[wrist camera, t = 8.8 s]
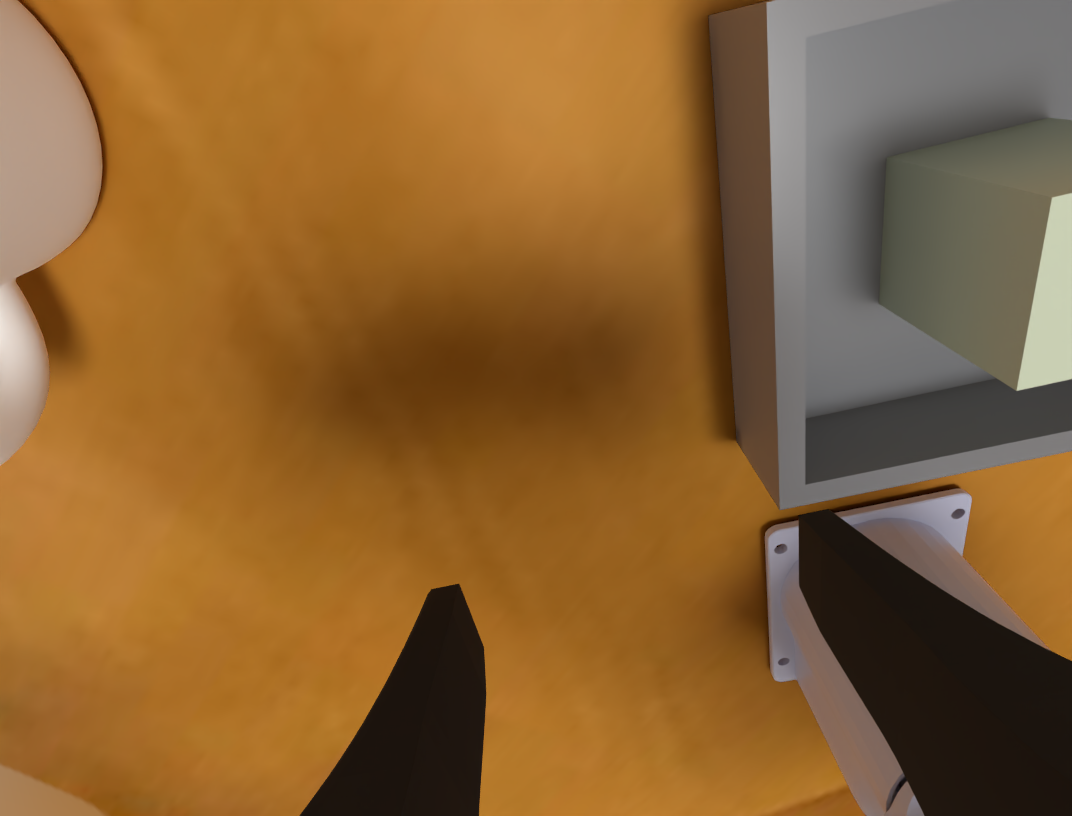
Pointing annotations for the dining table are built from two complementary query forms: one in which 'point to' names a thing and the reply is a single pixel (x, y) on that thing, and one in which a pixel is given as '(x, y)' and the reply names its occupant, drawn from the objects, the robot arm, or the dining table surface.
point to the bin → (864, 233)
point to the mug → (36, 200)
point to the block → (986, 249)
